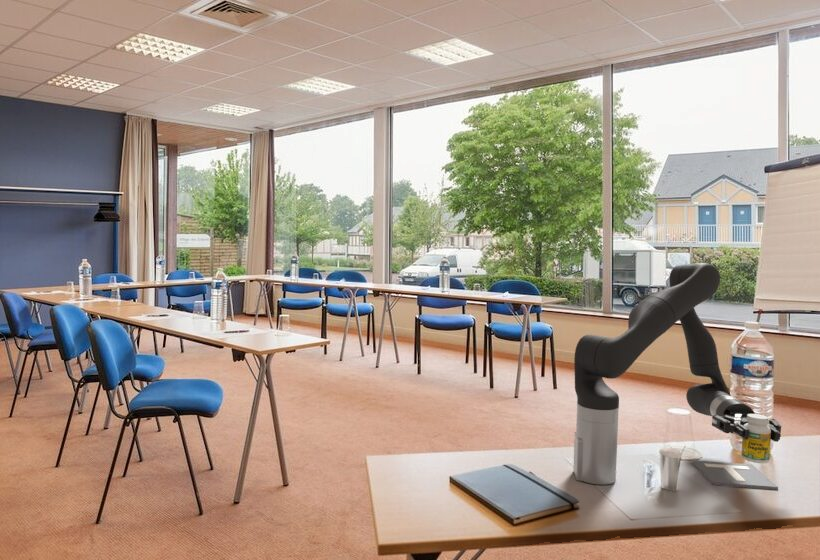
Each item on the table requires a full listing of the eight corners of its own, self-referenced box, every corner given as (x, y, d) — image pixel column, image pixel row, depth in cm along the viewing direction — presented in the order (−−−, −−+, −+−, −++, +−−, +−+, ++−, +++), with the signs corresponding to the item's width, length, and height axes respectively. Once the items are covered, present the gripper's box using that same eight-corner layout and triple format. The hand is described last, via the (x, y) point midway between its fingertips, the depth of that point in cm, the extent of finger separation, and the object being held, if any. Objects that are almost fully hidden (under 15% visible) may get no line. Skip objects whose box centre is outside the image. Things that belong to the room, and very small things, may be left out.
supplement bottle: (765, 457, 131) (768, 414, 131) (772, 465, 126) (775, 421, 126) (738, 453, 133) (741, 411, 132) (744, 461, 128) (746, 418, 127)
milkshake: (686, 493, 131) (688, 449, 130) (660, 491, 132) (662, 446, 131) (680, 485, 135) (683, 442, 135) (655, 483, 137) (657, 440, 136)
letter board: (711, 484, 136) (712, 481, 136) (692, 462, 150) (692, 459, 150) (778, 489, 134) (778, 486, 134) (752, 466, 148) (752, 464, 148)
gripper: (701, 396, 144) (727, 416, 127) (764, 400, 142) (800, 421, 125) (699, 426, 145) (724, 450, 128) (762, 431, 142) (797, 456, 126)
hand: (761, 435), depth 127 cm, fingers closed on supplement bottle, 5 cm apart
